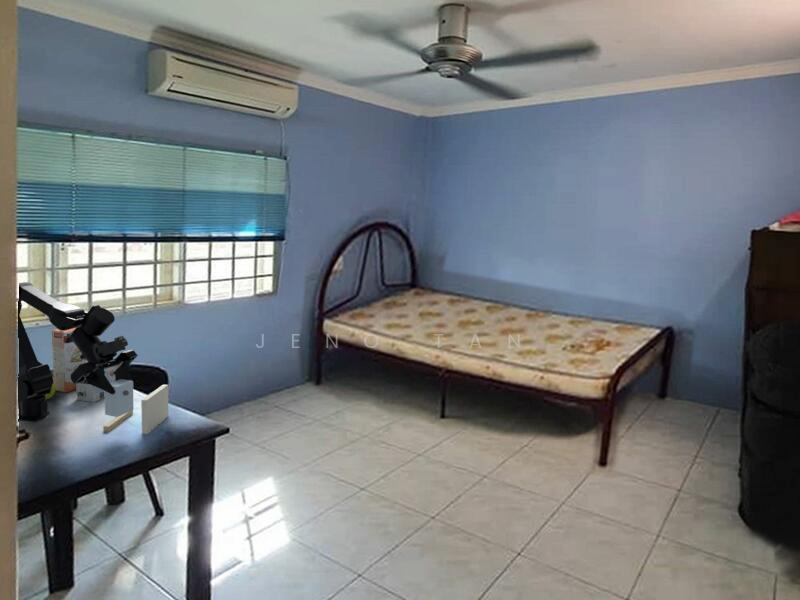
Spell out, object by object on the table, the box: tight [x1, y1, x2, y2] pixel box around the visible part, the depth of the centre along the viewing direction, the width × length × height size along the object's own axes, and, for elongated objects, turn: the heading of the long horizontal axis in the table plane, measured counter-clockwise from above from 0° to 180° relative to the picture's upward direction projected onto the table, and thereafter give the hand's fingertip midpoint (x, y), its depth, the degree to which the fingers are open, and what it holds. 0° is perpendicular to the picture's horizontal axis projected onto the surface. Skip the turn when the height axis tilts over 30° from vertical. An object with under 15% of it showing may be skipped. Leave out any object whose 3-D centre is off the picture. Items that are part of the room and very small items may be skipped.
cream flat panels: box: [102, 384, 169, 435], centre depth 166 cm, size 12×14×10 cm
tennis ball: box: [45, 382, 56, 400], centre depth 181 cm, size 7×7×7 cm
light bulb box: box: [76, 367, 116, 403], centre depth 186 cm, size 11×7×11 cm, turn 168°
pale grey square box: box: [104, 379, 134, 418], centre depth 156 cm, size 5×6×8 cm
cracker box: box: [51, 328, 100, 393], centre depth 194 cm, size 14×6×21 cm, turn 160°
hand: (123, 390), depth 156 cm, fingers closed on pale grey square box, 6 cm apart
